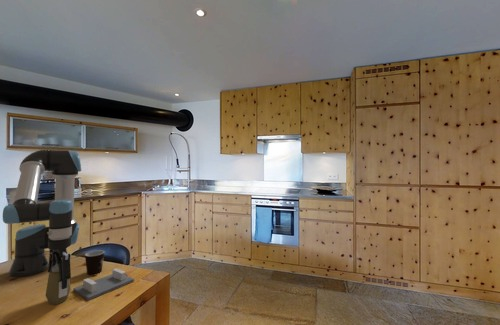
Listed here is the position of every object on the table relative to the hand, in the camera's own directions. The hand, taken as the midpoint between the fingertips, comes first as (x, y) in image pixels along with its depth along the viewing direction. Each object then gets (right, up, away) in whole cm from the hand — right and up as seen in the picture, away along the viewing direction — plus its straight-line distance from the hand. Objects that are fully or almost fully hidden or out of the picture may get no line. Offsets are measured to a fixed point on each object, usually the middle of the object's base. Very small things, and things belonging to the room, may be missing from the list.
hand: (58, 292), depth 98 cm
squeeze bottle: (0, -3, 0) cm, 3 cm away
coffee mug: (-2, -4, +28) cm, 29 cm away
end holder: (+11, -4, +13) cm, 18 cm away
